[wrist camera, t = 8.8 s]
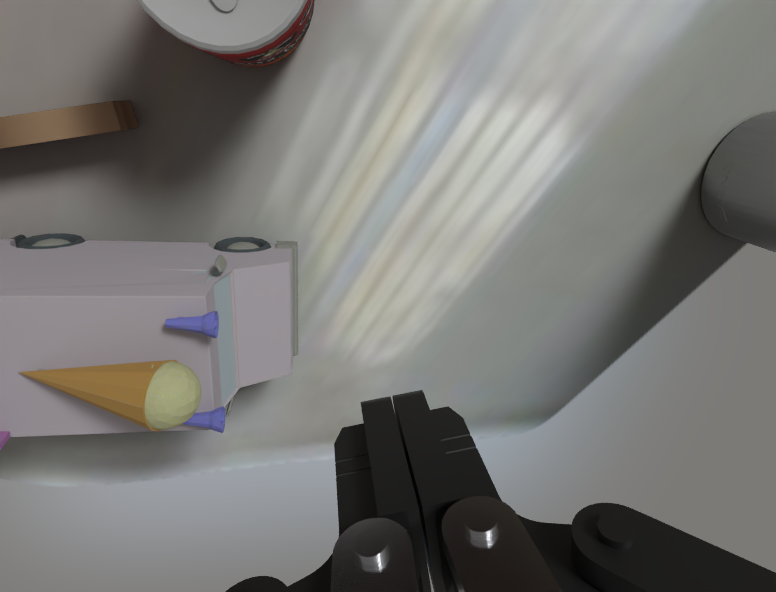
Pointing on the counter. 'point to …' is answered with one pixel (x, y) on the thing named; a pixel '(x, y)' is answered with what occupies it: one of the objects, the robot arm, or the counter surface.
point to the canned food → (236, 26)
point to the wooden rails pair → (66, 123)
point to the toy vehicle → (139, 331)
